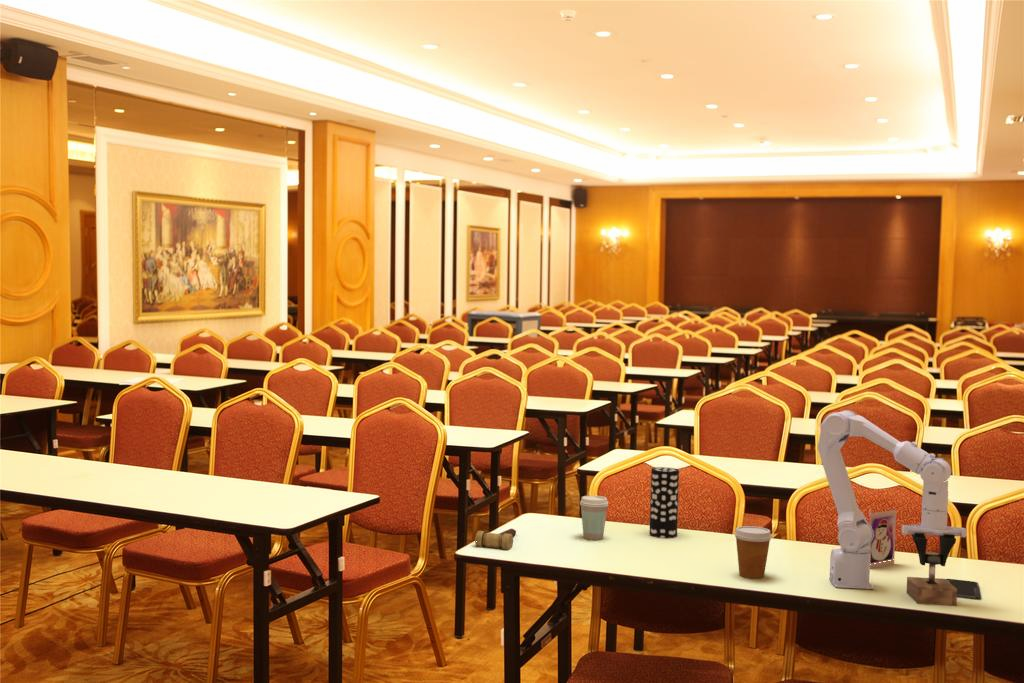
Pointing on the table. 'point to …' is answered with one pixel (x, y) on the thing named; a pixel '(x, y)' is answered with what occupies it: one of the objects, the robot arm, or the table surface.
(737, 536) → the disposable coffee cup
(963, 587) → the phone
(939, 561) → the dark round knob
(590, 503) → the coffee cup
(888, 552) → the greeting card
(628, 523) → the table surface
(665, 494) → the white-spotted black cylinder
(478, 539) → the gavel
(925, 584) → the box
